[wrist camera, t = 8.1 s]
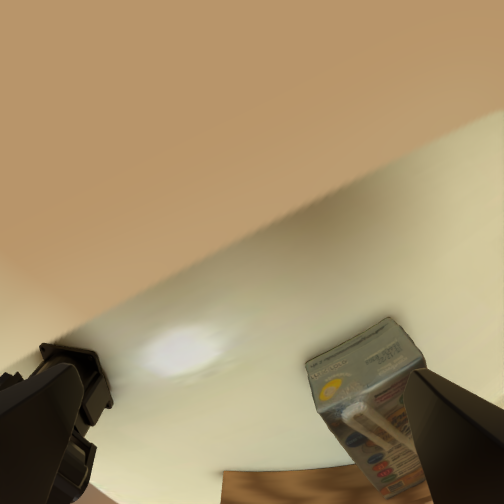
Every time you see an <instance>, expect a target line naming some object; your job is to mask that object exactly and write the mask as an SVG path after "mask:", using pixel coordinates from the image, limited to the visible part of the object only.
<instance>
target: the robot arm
mask: <svg viewBox="0 0 504 504" xmlns="http://www.w3.org/2000/svg"><path fill="white" fill-rule="evenodd" d="M39 348H40V351H41V354H42V357H43V359H44V361H43V362H42V363H41V364H40V365H39V366H38V367H37V369H36V370H35V371H34V372H33V373H32V374H31V375H30V376H29V378H28V379H26V380H24V379H23V378H22V376H21V375H20V373H19V372H17V373H16V374H15V375H14V376H12V374H11V375H10V374H8V373H6V372H5V373H4V374H3V375H2V376H1V377H0V504H70V503H73V502H75V501H76V500H78V499H79V497H80V496H81V495H82V494H83V493H84V491H85V489H86V488H87V486H88V483H89V480H90V476H91V471H92V467H93V462H94V458H95V453H96V449H97V446H95V445H94V444H93V443H90V442H89V441H88V440H86V439H85V438H84V437H85V435H86V433H87V431H88V429H89V427H90V426H92V427H93V426H95V425H96V423H97V421H98V419H99V417H100V415H101V413H102V412H103V410H104V408H107V409H111V408H112V406H113V402H112V399H111V395H110V393H109V390H108V387H107V384H106V381H105V378H104V376H103V373H102V370H101V367H100V364H99V361H98V358H97V355H96V354H95V353H94V352H92V351H86V350H80V349H74V348H68V347H63V346H57V345H52V344H47V343H42V344H41V345H40V346H39ZM90 356H91V357H92V358H91V357H90ZM403 402H404V406H405V410H406V413H407V417H408V421H409V426H410V430H411V434H412V438H413V442H414V446H415V449H416V452H417V455H418V458H419V461H420V463H421V466H422V469H423V472H424V475H425V478H426V482H427V485H428V488H429V491H430V494H431V497H432V501H433V504H504V410H503V409H502V408H500V407H498V406H496V405H494V404H492V403H490V402H488V401H486V400H484V399H483V398H481V397H479V396H477V395H475V394H473V393H471V392H469V391H468V390H466V389H464V388H462V387H460V386H458V385H456V384H455V383H453V382H451V381H449V380H447V379H445V378H443V377H442V376H440V375H438V374H436V373H434V372H432V371H431V370H429V369H427V368H421V369H416V370H413V371H412V372H411V373H410V376H409V378H408V381H407V384H406V387H405V390H404V393H403Z"/></svg>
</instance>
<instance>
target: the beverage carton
mask: <svg viewBox="0 0 504 504" xmlns="http://www.w3.org/2000/svg"><path fill="white" fill-rule="evenodd" d="M421 368H427V365H426V361H425V358H424V356H423V354H422V352H421V351H420V350H419V349H418V348H417V347H416V346H415V344H414V342H413V340H412V339H411V338H410V337H409V335H408V334H407V333H406V332H405V331H404V329H403V328H402V327H401V326H400V325H398V324H397V323H396V322H395V321H394V320H392V319H391V318H390V317H388V318H386V319H384V320H382V321H381V322H380V323H378V324H376V325H375V326H373V327H371V328H370V329H368V330H367V331H365V332H363V333H361V334H360V335H358V336H356V337H354V338H352V339H351V340H349V341H347V342H345V343H343V344H342V345H340V346H338V347H336V348H334V349H332V350H330V351H328V352H327V353H324V354H322V355H320V356H318V357H316V358H314V359H312V360H311V361H309V362H307V363H306V370H307V373H308V379H309V383H310V387H311V391H312V396H313V400H314V403H315V406H316V410H317V412H318V413H319V414H320V416H321V417H322V418H323V420H324V421H325V423H326V424H327V426H328V428H329V430H330V431H331V432H332V433H333V434H334V435H335V437H336V438H337V440H338V441H339V443H340V444H341V445H342V446H343V448H344V449H345V450H346V451H347V453H348V454H349V456H350V457H351V458H352V460H353V461H354V462H355V463H356V465H357V466H358V467H359V469H360V470H361V471H362V472H363V474H364V475H365V476H366V477H367V479H368V480H369V481H370V482H371V483H372V485H373V486H374V487H375V488H376V489H377V490H378V491H379V492H380V493H381V495H382V496H383V497H384V498H385V499H386V500H388V499H390V498H392V497H394V496H396V495H398V494H400V493H401V492H404V491H406V490H408V489H409V488H411V487H415V486H417V485H419V484H421V483H423V482H424V481H425V480H426V478H425V475H424V472H423V469H422V466H421V463H420V461H419V458H418V455H417V452H416V449H415V446H414V442H413V438H412V434H411V430H410V426H409V421H408V417H407V413H406V410H405V406H404V402H403V393H404V390H405V387H406V384H407V381H408V378H409V376H410V373H411V372H412V371H413V370H416V369H421Z"/></svg>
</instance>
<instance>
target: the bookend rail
mask: <svg viewBox="0 0 504 504" xmlns="http://www.w3.org/2000/svg"><path fill="white" fill-rule="evenodd" d="M220 504H433V501H432V497H431V494H430V491H429V488H428V485H427V482H426V480H425V481H424V482H423V483H421V484H419V485H417V486H415V487H411V488H409V489H408V490H406V491H404V492H401V493H400V494H398V495H396V496H394V497H392V498H390V499H388V500H386V499H385V498H384V497H383V496H382V495H381V493H380V492H379V491H378V490H377V489H376V488H375V487H374V486H373V485H372V483H371V482H370V481H369V480H368V479H367V477H366V476H365V475H364V474H363V472H362V471H361V470H360V469H359V467H358V466H357V465H356V464H353V465H347V466H339V467H331V468H323V469H312V470H299V471H279V472H236V471H224V473H223V483H222V493H221V503H220Z"/></svg>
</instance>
